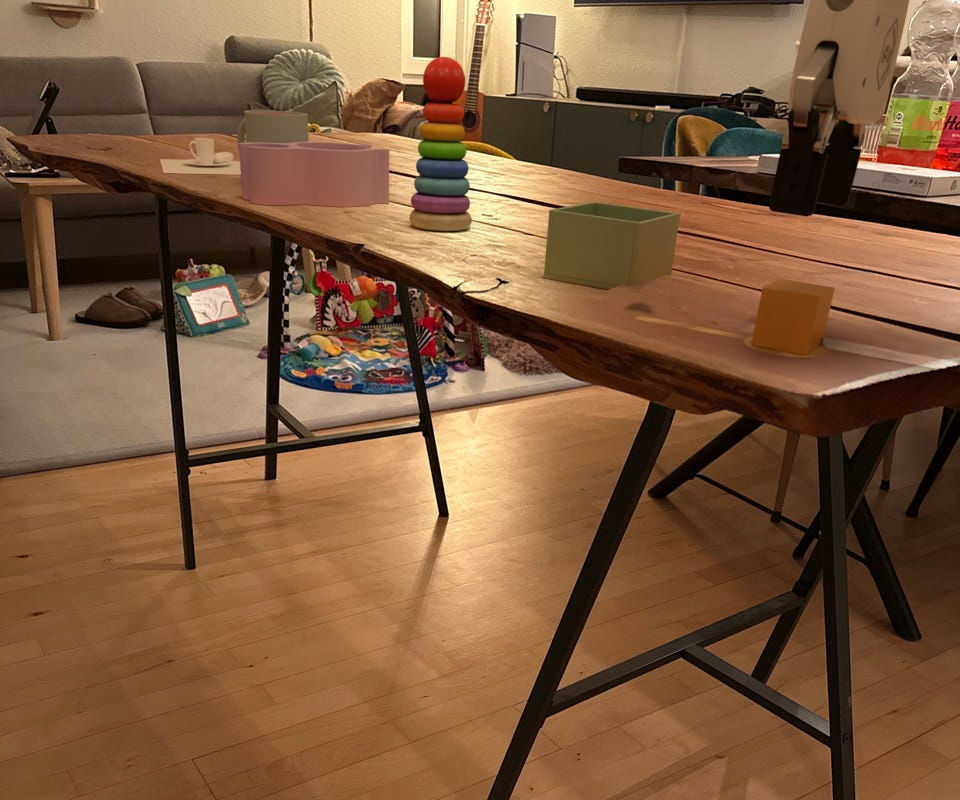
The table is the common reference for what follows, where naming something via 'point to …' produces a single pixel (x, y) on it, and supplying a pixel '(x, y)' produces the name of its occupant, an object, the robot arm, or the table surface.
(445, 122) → the stacking toy
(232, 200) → the table surface
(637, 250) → the open top crate
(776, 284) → the block
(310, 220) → the table surface
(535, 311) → the table surface
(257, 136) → the mug
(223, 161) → the teacup and saucer
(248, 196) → the pink twin-well planter
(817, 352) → the spoon
